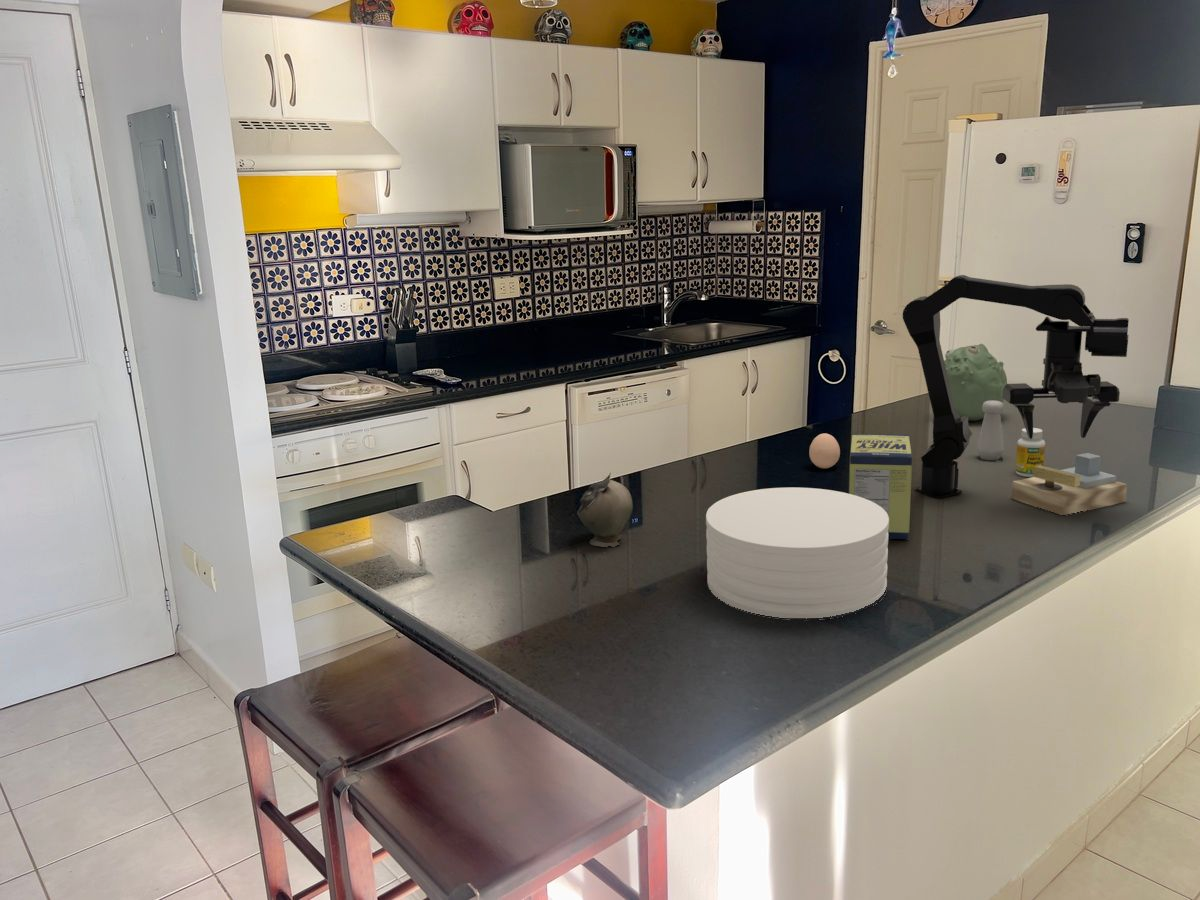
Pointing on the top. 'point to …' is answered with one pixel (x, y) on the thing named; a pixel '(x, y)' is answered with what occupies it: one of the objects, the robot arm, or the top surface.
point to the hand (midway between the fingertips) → (1056, 437)
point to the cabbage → (974, 379)
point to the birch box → (1067, 495)
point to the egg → (824, 451)
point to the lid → (1090, 471)
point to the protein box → (884, 476)
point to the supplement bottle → (1030, 452)
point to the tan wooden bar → (1056, 476)
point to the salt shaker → (991, 432)
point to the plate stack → (797, 552)
